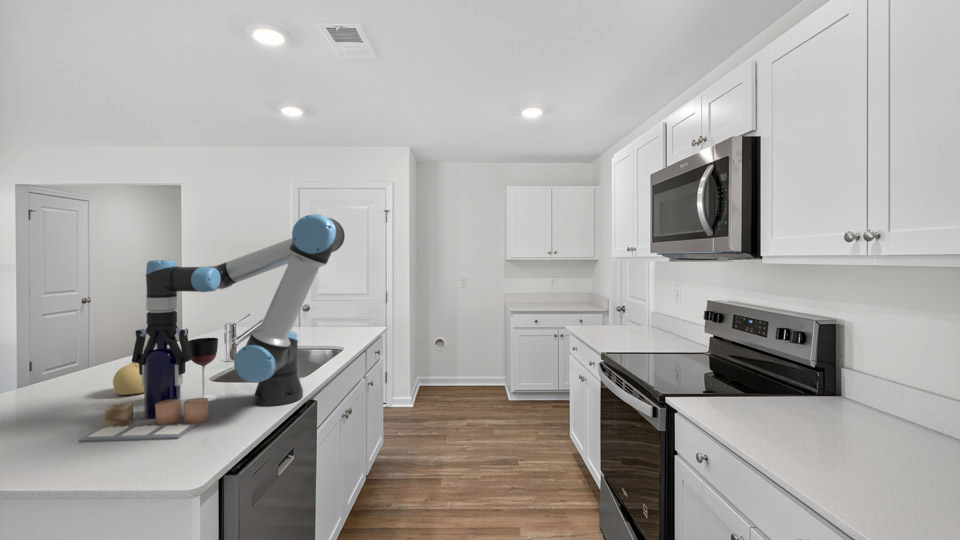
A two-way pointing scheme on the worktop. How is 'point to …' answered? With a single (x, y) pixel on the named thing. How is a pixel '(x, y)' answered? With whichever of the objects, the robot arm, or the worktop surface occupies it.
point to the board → (138, 432)
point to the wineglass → (204, 356)
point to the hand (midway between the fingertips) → (162, 384)
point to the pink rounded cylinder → (168, 412)
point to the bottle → (159, 376)
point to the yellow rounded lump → (128, 380)
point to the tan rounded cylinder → (196, 411)
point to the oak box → (119, 415)
